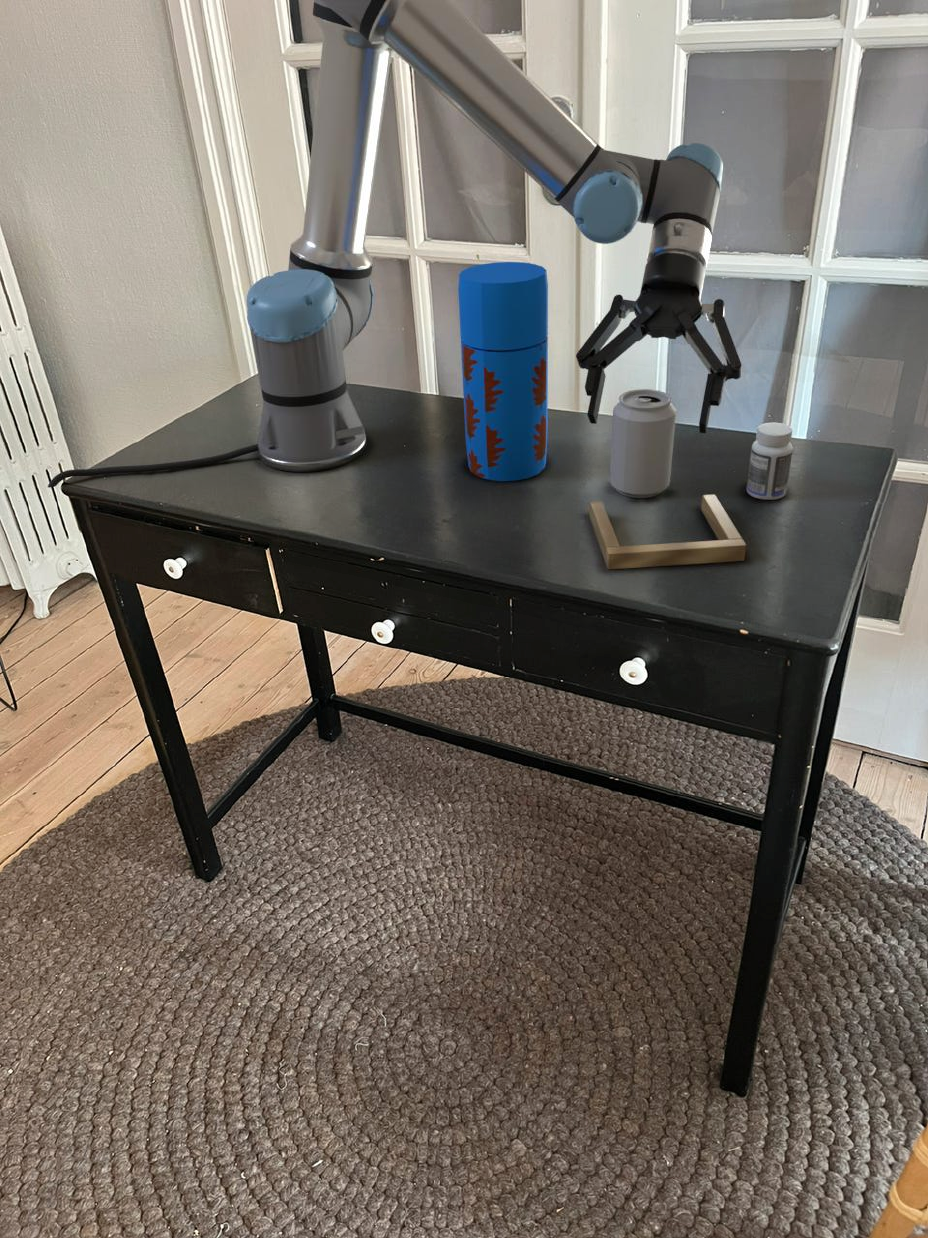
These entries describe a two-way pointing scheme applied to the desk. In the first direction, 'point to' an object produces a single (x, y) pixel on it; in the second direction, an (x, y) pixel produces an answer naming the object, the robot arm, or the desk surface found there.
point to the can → (642, 443)
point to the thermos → (505, 368)
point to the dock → (673, 553)
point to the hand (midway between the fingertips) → (646, 424)
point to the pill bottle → (770, 461)
